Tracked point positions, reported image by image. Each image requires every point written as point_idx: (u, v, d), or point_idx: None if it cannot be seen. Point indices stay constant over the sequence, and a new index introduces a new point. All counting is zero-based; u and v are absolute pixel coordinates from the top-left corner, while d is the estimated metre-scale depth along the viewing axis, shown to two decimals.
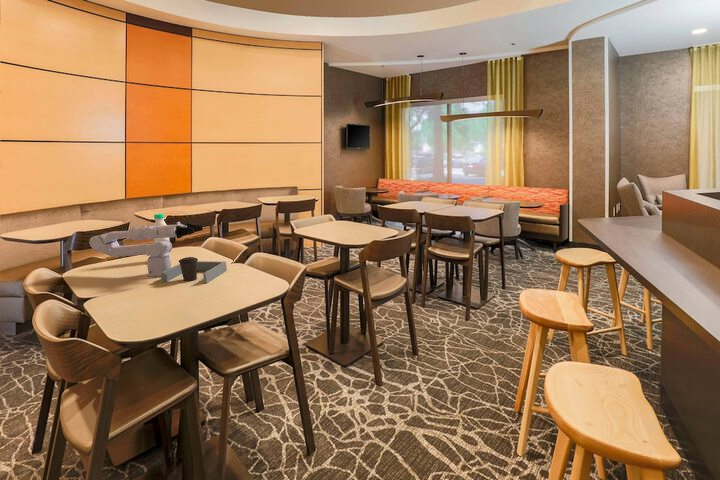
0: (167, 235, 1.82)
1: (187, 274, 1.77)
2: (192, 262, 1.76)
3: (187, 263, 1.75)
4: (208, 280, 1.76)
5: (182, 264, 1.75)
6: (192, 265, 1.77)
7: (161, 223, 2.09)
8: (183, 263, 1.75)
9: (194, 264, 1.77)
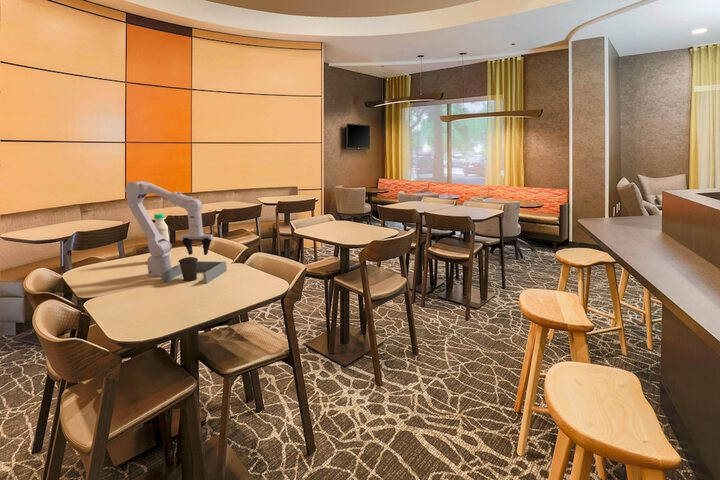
0: (198, 225, 1.83)
1: (187, 274, 1.77)
2: (192, 262, 1.76)
3: (187, 263, 1.75)
4: (208, 280, 1.76)
5: (182, 264, 1.75)
6: (192, 265, 1.77)
7: (161, 223, 2.09)
8: (183, 263, 1.75)
9: (194, 264, 1.77)
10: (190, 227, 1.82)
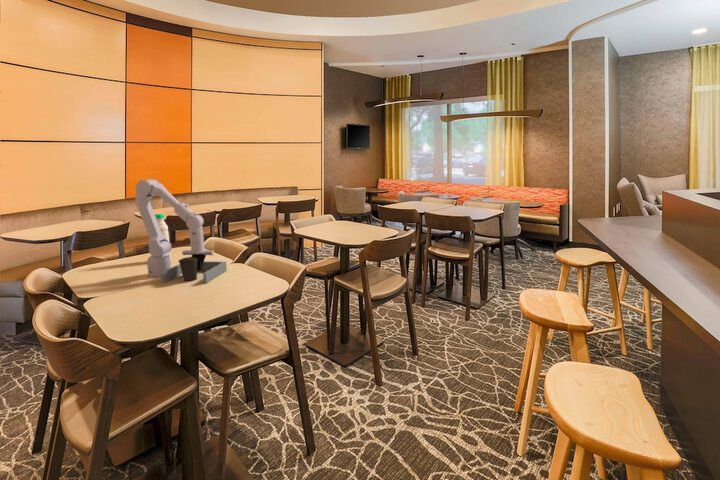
0: (200, 242, 1.84)
1: (187, 274, 1.77)
2: (192, 262, 1.76)
3: (187, 263, 1.75)
4: (208, 280, 1.76)
5: (182, 264, 1.75)
6: (192, 265, 1.77)
7: (161, 223, 2.09)
8: (183, 263, 1.75)
9: (194, 264, 1.77)
10: (192, 243, 1.84)
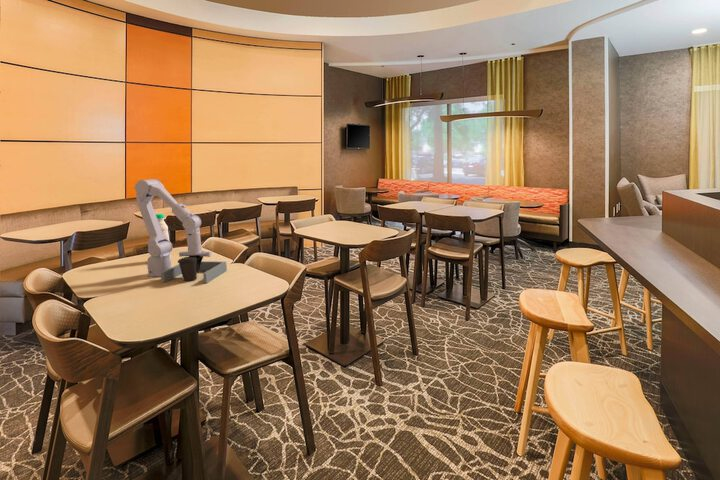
0: (197, 243, 1.81)
1: (187, 274, 1.76)
2: (191, 262, 1.76)
3: (186, 263, 1.75)
4: (208, 280, 1.76)
5: (181, 264, 1.75)
6: (191, 265, 1.76)
7: (161, 223, 2.09)
8: (182, 264, 1.75)
9: (193, 264, 1.77)
10: (189, 245, 1.81)
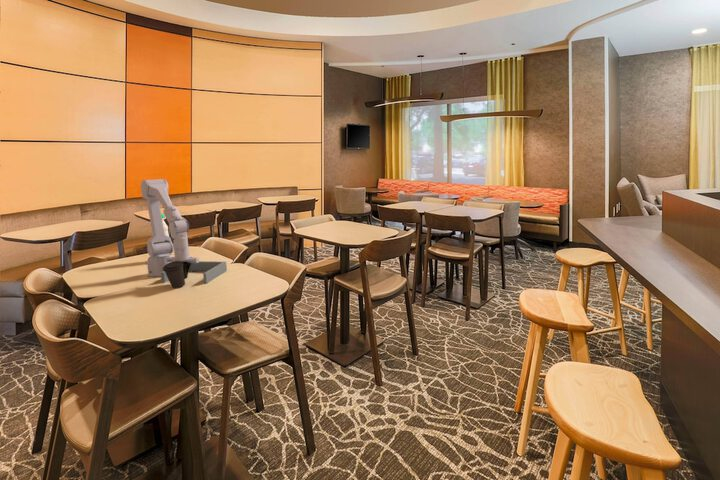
0: (183, 248, 1.71)
1: (174, 281, 1.67)
2: (177, 269, 1.65)
3: (172, 271, 1.64)
4: (208, 280, 1.76)
5: (167, 272, 1.64)
6: (178, 272, 1.66)
7: None
8: (168, 271, 1.64)
9: (180, 271, 1.66)
10: (175, 250, 1.70)
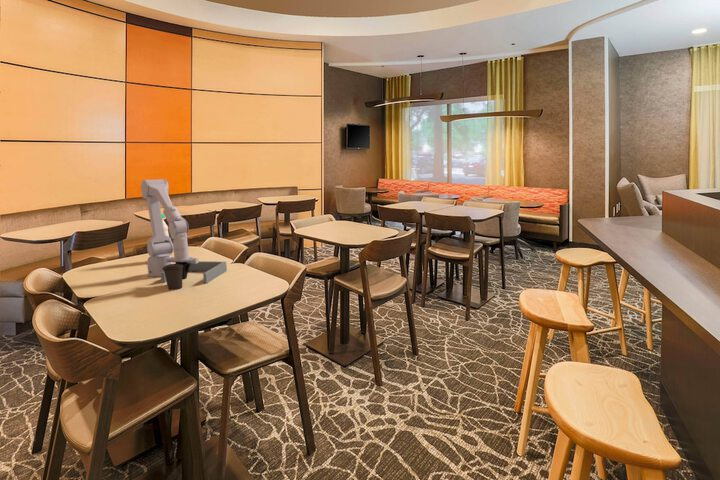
0: (183, 249, 1.70)
1: (172, 282, 1.65)
2: (177, 269, 1.65)
3: (172, 270, 1.64)
4: (208, 280, 1.76)
5: (166, 271, 1.64)
6: (177, 272, 1.65)
7: None
8: (168, 270, 1.64)
9: (179, 271, 1.66)
10: (174, 250, 1.70)
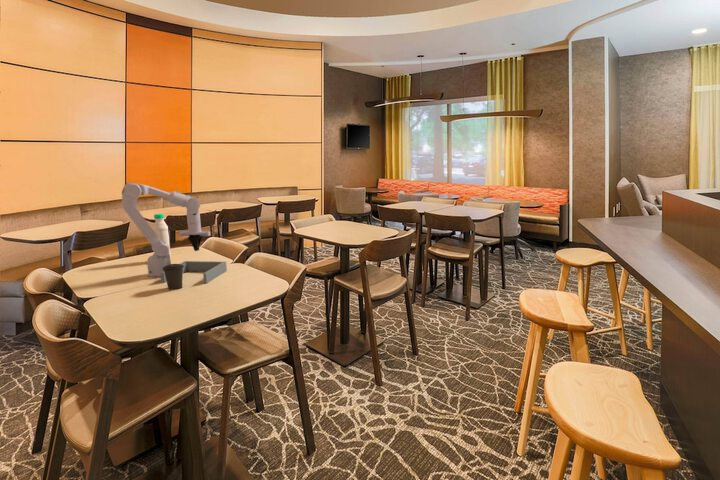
0: (197, 223, 1.91)
1: (172, 282, 1.65)
2: (177, 269, 1.65)
3: (172, 270, 1.64)
4: (208, 280, 1.76)
5: (167, 271, 1.64)
6: (177, 272, 1.65)
7: (161, 223, 2.09)
8: (168, 270, 1.64)
9: (180, 271, 1.66)
10: (189, 224, 1.90)
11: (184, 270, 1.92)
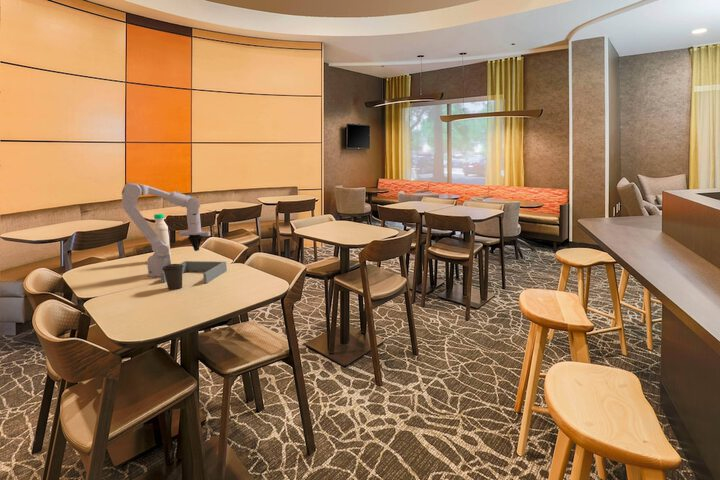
0: (197, 223, 1.91)
1: (172, 282, 1.65)
2: (177, 269, 1.65)
3: (172, 270, 1.64)
4: (208, 280, 1.76)
5: (166, 271, 1.64)
6: (177, 272, 1.65)
7: (161, 223, 2.09)
8: (167, 270, 1.64)
9: (179, 271, 1.66)
10: (189, 224, 1.90)
11: (184, 270, 1.92)
